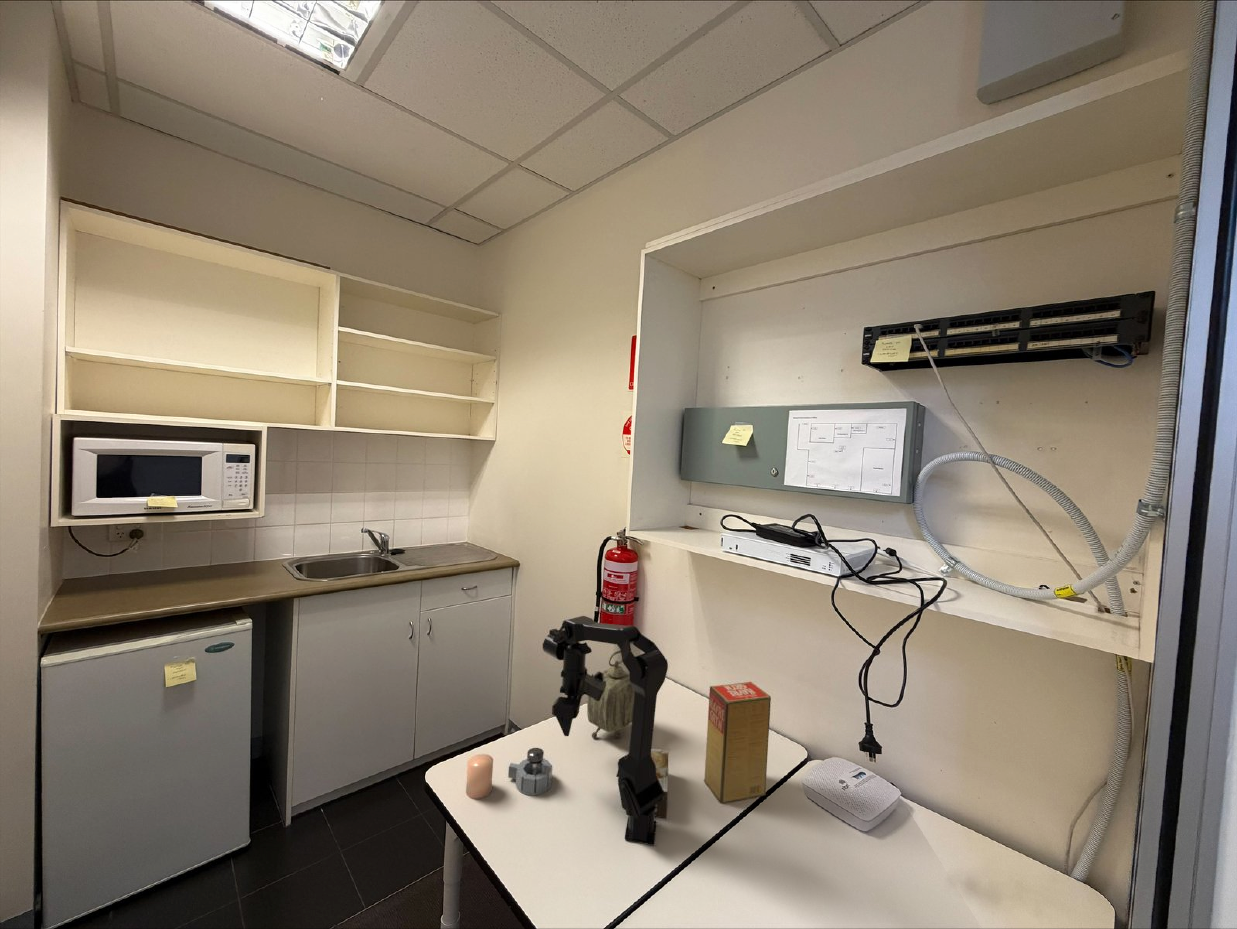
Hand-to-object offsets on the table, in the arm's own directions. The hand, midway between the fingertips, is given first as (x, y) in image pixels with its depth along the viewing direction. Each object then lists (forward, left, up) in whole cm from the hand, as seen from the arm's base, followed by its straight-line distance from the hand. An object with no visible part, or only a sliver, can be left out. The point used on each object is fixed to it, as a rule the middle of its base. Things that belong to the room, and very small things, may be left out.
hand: (570, 725), depth 124 cm
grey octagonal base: (-6, +8, -12) cm, 16 cm away
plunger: (-6, +7, -11) cm, 15 cm away
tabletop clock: (+20, -9, -13) cm, 25 cm away
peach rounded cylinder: (-11, +19, -12) cm, 26 cm away
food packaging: (+5, -43, -13) cm, 45 cm away
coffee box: (+6, -21, -9) cm, 24 cm away
